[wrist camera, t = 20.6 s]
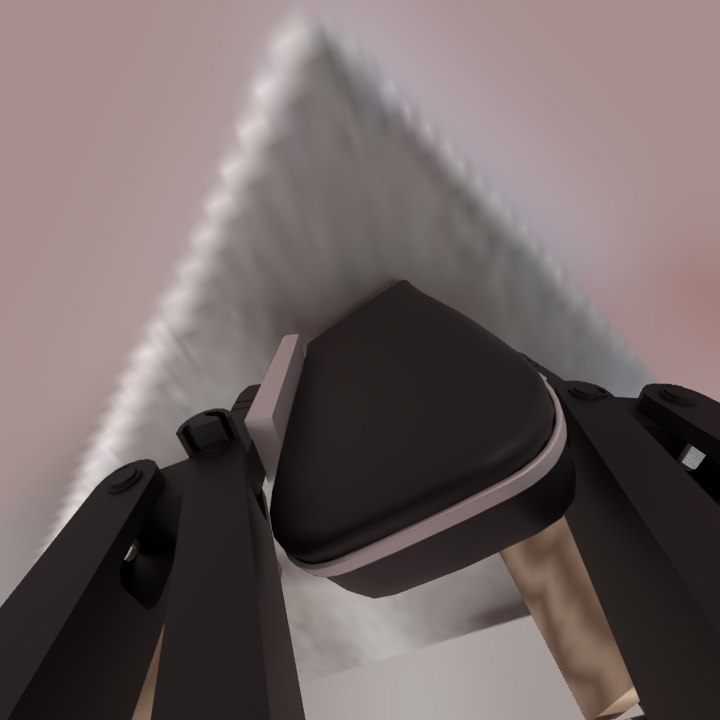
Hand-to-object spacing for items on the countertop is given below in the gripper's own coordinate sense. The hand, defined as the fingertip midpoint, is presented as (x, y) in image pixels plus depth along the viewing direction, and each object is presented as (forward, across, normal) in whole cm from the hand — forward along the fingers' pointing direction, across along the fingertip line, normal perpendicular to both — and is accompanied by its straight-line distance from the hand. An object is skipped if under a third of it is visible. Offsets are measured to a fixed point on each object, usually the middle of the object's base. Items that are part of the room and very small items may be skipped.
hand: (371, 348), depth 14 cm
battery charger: (+2, 0, 0) cm, 2 cm away
